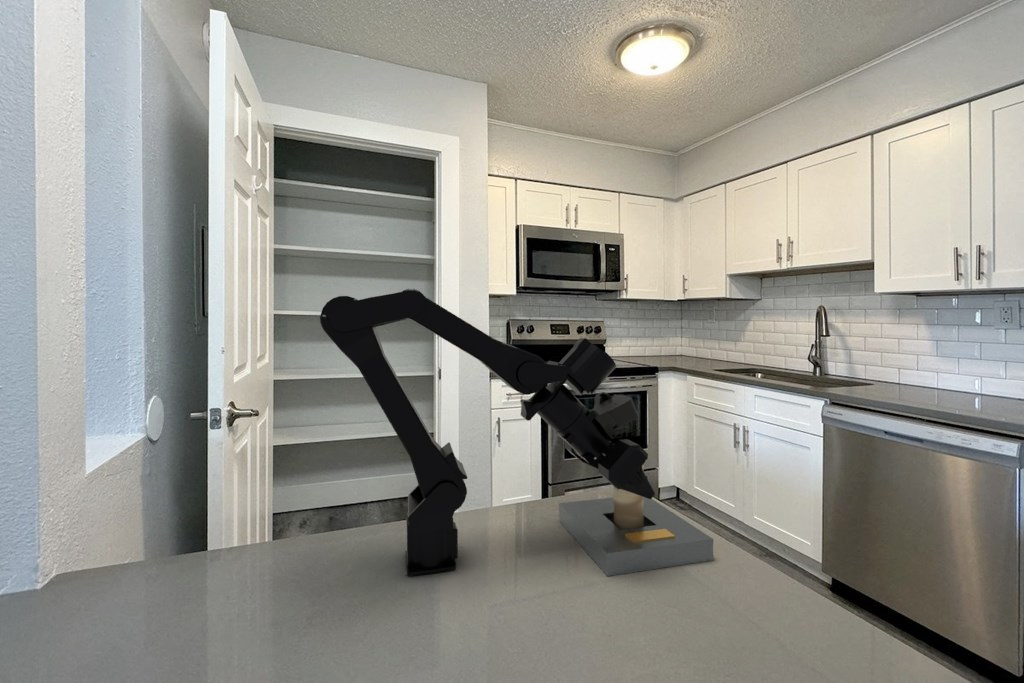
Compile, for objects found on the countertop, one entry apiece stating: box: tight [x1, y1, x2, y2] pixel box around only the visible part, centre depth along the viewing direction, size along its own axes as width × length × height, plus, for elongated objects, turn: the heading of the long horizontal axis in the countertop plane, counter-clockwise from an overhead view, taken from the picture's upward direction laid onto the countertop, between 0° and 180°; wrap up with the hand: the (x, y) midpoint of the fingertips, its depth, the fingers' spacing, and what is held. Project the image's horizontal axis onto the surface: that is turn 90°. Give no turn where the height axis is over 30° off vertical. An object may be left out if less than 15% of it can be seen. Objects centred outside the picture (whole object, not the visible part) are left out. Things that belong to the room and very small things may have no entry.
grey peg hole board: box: [558, 496, 714, 577], centre depth 70 cm, size 16×18×3 cm
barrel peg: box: [613, 463, 645, 530], centre depth 70 cm, size 4×4×12 cm
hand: (637, 485), depth 70 cm, fingers open, 9 cm apart
